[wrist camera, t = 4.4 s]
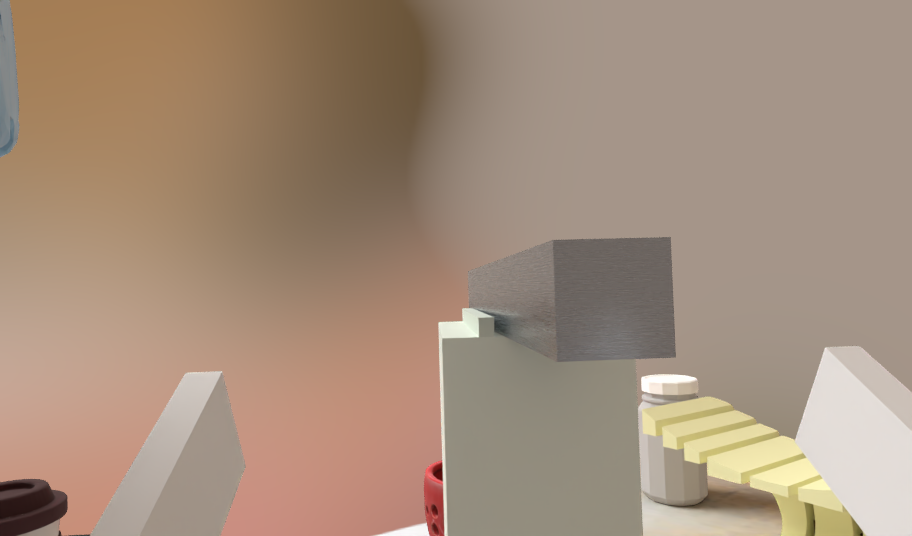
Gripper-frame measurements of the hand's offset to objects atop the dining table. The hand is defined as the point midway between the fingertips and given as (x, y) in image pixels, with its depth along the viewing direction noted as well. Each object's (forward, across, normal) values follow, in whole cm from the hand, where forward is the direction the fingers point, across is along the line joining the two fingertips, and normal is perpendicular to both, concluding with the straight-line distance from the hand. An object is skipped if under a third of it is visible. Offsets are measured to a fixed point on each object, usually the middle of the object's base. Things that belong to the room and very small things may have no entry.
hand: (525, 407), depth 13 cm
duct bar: (+18, +3, -10) cm, 21 cm away
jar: (+53, +33, -65) cm, 90 cm away
